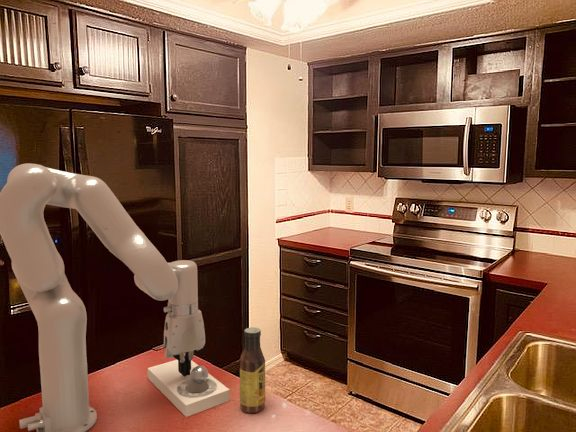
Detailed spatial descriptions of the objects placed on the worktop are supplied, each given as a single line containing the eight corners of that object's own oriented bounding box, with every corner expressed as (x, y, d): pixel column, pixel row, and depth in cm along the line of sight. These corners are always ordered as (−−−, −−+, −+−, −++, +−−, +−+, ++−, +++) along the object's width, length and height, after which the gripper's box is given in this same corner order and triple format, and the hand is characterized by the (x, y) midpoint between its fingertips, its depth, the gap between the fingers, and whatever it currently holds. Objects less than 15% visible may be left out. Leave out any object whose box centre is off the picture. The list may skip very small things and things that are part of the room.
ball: (195, 372, 115) (185, 370, 118) (200, 388, 116) (190, 385, 119) (208, 363, 118) (198, 361, 121) (213, 378, 119) (203, 376, 122)
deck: (186, 417, 108) (186, 405, 108) (147, 378, 127) (147, 368, 126) (229, 400, 116) (229, 389, 115) (187, 366, 134) (187, 356, 134)
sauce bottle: (264, 414, 110) (264, 336, 107) (238, 414, 110) (237, 335, 107) (266, 400, 116) (266, 325, 113) (241, 399, 116) (241, 325, 114)
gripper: (162, 318, 112) (164, 388, 114) (215, 305, 121) (216, 371, 123) (150, 309, 117) (152, 376, 120) (202, 298, 127) (203, 361, 129)
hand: (184, 373), depth 122 cm, fingers closed
